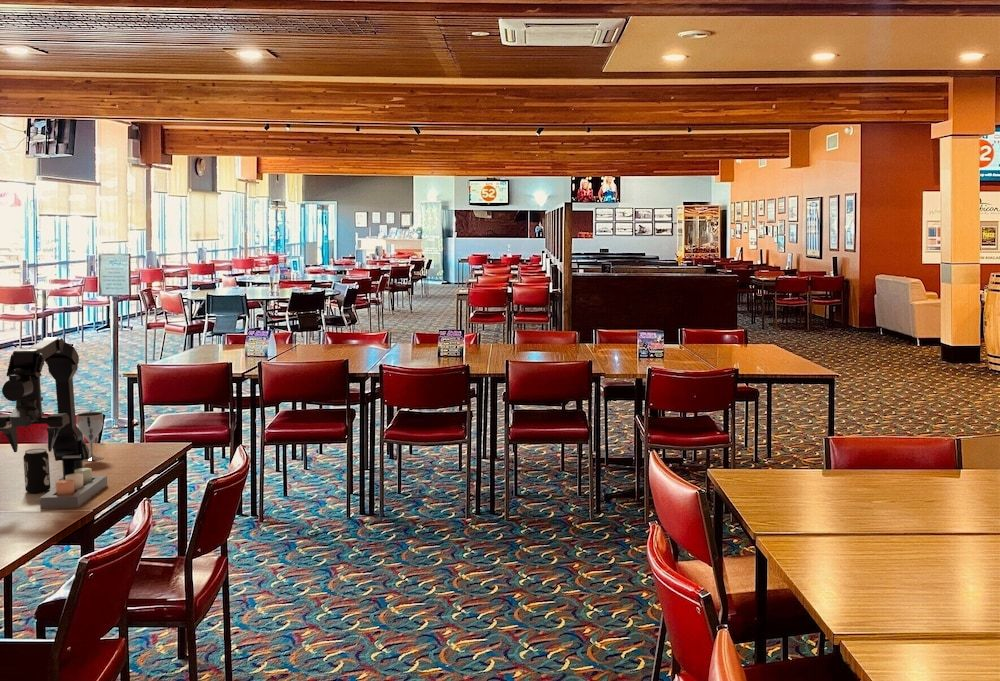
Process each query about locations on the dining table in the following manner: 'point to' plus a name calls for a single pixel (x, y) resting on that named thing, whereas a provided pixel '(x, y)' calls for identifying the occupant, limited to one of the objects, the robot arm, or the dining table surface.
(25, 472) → the beverage can
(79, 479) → the beige domed piece
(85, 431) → the wine glass
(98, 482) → the egg tray
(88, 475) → the pale green egg
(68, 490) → the orange rounded dome
